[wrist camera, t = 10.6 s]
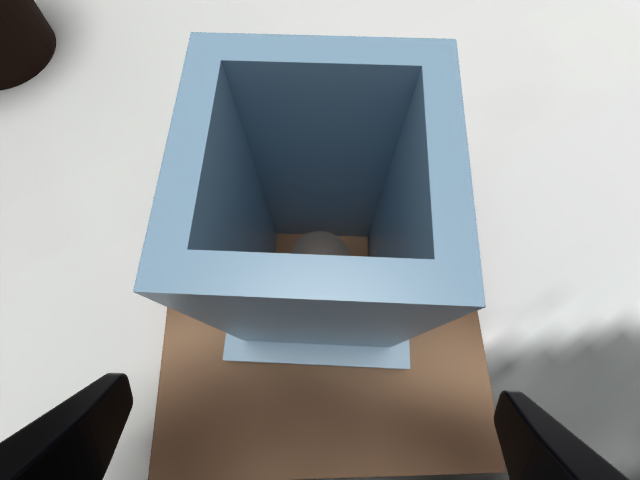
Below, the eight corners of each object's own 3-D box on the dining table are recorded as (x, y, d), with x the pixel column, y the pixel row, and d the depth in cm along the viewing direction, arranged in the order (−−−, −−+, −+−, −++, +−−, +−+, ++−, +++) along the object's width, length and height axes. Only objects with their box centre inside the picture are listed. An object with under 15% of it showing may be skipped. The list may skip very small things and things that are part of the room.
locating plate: (492, 465, 16) (550, 496, 12) (160, 476, 16) (104, 510, 12) (438, 143, 21) (465, 90, 17) (193, 151, 21) (163, 99, 17)
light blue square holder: (405, 369, 16) (542, 359, 6) (228, 361, 16) (74, 337, 6) (399, 208, 18) (487, 13, 9) (248, 202, 19) (163, 5, 9)
